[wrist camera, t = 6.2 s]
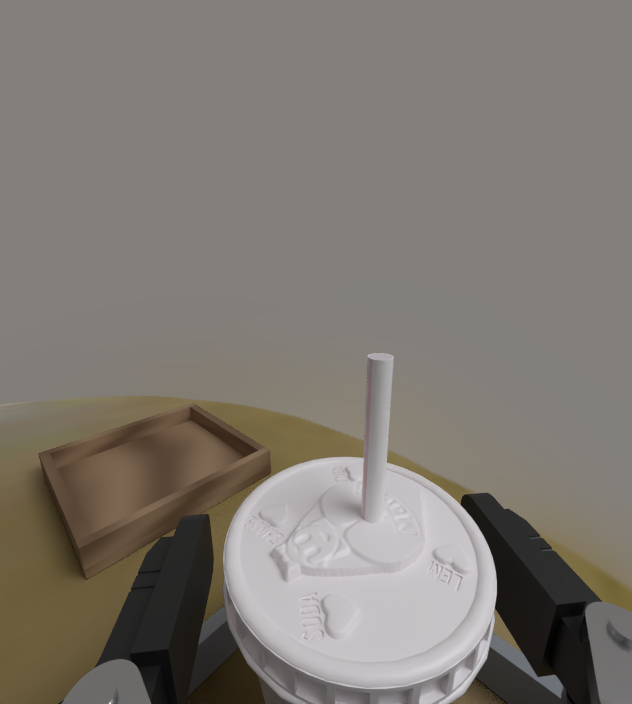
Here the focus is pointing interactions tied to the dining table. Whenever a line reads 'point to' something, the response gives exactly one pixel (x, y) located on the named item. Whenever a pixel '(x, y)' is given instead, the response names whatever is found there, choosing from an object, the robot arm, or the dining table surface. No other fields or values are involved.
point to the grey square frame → (496, 673)
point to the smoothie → (359, 578)
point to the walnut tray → (146, 480)
